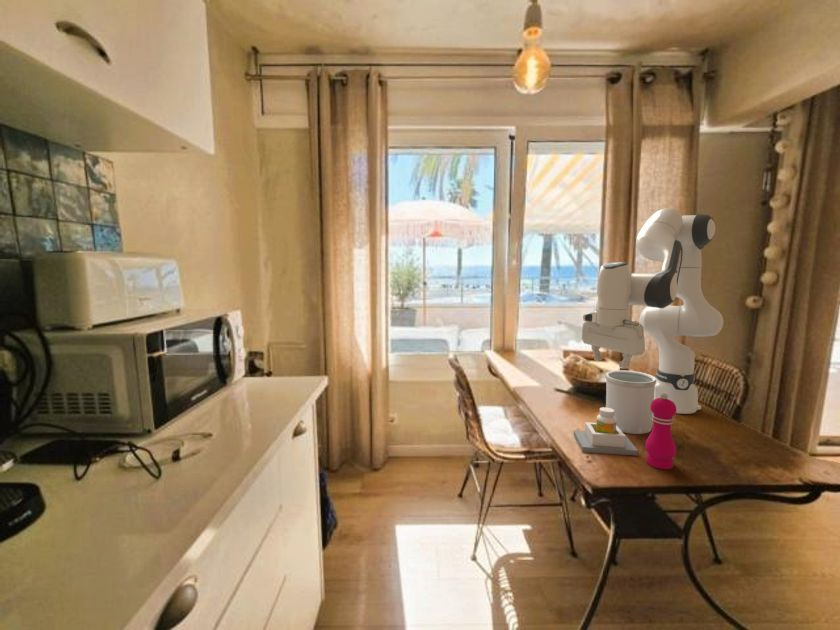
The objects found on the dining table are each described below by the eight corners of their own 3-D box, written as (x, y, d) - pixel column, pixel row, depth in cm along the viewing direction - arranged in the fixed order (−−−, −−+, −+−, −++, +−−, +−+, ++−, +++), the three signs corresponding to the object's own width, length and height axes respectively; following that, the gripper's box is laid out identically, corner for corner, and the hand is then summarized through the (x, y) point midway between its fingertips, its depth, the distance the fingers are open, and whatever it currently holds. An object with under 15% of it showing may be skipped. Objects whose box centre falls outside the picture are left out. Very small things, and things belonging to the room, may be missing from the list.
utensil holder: (626, 437, 123) (629, 384, 121) (594, 420, 137) (596, 371, 135) (664, 432, 127) (667, 379, 125) (628, 415, 141) (631, 368, 139)
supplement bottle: (592, 440, 118) (594, 409, 116) (599, 435, 121) (601, 405, 120) (611, 446, 114) (613, 414, 113) (618, 440, 118) (619, 409, 116)
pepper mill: (663, 457, 110) (668, 388, 108) (681, 470, 103) (687, 397, 101) (638, 457, 110) (642, 389, 108) (654, 470, 103) (659, 397, 100)
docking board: (573, 434, 125) (574, 419, 125) (623, 437, 123) (624, 422, 122) (582, 451, 114) (582, 435, 113) (637, 455, 111) (638, 438, 111)
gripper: (652, 321, 105) (649, 371, 107) (594, 313, 124) (593, 355, 126) (634, 323, 103) (631, 374, 105) (579, 314, 122) (577, 357, 124)
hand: (610, 363), depth 115 cm, fingers open, 8 cm apart
